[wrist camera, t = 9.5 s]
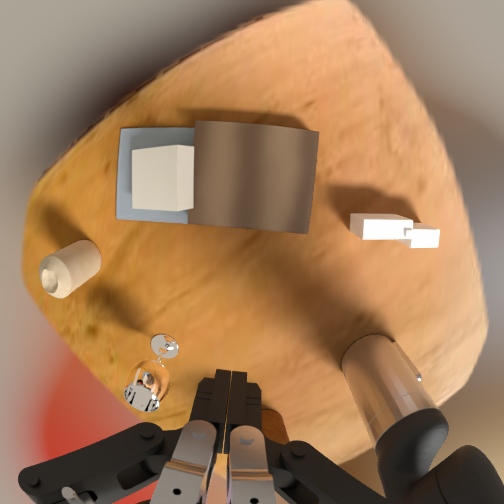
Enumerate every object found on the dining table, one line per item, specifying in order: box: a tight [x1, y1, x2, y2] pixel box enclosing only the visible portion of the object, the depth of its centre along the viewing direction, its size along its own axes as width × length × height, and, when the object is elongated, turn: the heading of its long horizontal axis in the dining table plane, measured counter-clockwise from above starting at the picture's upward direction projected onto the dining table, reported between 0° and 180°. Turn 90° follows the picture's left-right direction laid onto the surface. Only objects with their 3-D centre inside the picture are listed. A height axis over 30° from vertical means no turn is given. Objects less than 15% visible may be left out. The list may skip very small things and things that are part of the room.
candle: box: [39, 240, 102, 298], centre depth 32 cm, size 6×6×10 cm
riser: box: [187, 120, 319, 234], centre depth 33 cm, size 14×12×3 cm
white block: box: [132, 145, 194, 211], centre depth 31 cm, size 7×7×3 cm
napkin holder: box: [350, 213, 440, 248], centre depth 34 cm, size 15×11×6 cm
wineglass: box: [124, 334, 179, 412], centre depth 35 cm, size 6×6×12 cm
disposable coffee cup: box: [262, 410, 290, 445], centre depth 40 cm, size 10×10×12 cm
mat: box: [116, 128, 195, 224], centre depth 34 cm, size 10×12×1 cm
